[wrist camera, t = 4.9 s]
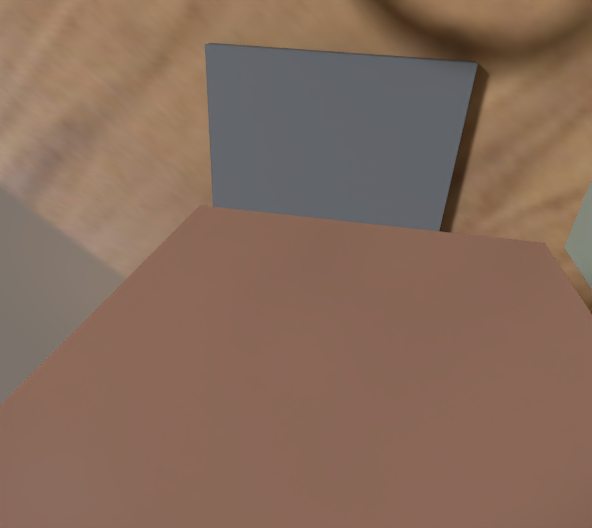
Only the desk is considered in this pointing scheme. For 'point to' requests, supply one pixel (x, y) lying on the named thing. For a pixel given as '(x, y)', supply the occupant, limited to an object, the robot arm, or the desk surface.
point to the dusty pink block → (313, 387)
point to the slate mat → (335, 133)
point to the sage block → (582, 238)
